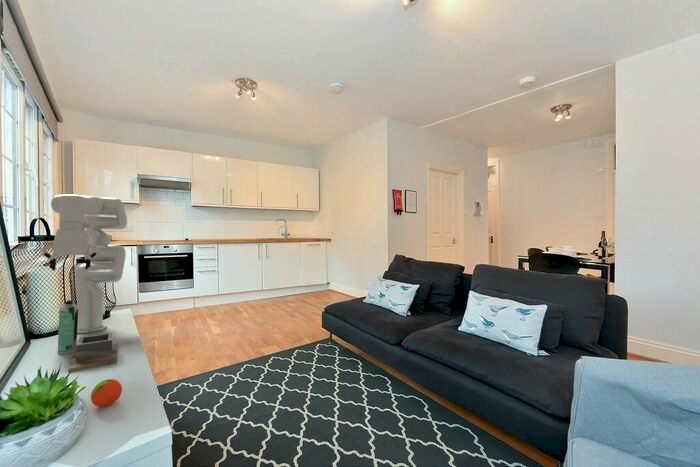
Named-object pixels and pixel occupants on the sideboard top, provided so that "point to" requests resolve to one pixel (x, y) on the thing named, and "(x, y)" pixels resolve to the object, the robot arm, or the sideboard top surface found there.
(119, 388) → the tomato
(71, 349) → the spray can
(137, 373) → the sideboard top surface
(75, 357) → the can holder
